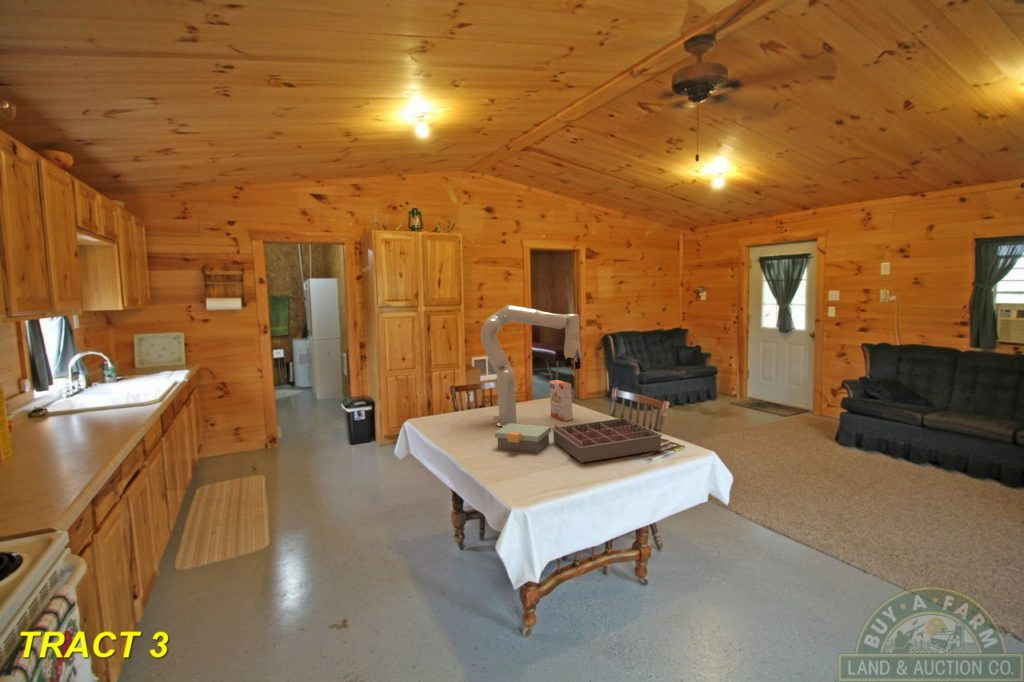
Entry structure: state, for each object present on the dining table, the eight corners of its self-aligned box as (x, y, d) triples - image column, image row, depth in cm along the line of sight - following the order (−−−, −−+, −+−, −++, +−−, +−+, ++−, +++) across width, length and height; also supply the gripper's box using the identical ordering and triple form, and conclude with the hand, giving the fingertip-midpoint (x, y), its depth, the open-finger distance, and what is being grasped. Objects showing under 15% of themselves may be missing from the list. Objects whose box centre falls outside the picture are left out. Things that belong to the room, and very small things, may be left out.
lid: (490, 439, 227) (490, 432, 227) (509, 427, 245) (509, 420, 244) (535, 444, 218) (534, 436, 217) (551, 431, 236) (550, 424, 235)
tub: (498, 450, 232) (497, 433, 231) (510, 441, 244) (510, 425, 243) (538, 454, 223) (537, 437, 222) (549, 445, 236) (548, 428, 235)
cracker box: (550, 416, 286) (548, 380, 284) (559, 414, 289) (557, 379, 287) (563, 421, 274) (562, 384, 272) (573, 420, 277) (571, 383, 274)
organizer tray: (663, 452, 219) (663, 430, 218) (580, 466, 207) (579, 443, 206) (625, 433, 250) (625, 413, 248) (551, 444, 238) (550, 423, 237)
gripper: (558, 335, 276) (559, 366, 278) (575, 338, 261) (575, 370, 263) (570, 334, 280) (570, 364, 281) (587, 337, 264) (587, 369, 266)
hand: (573, 367), depth 272 cm, fingers open, 9 cm apart
